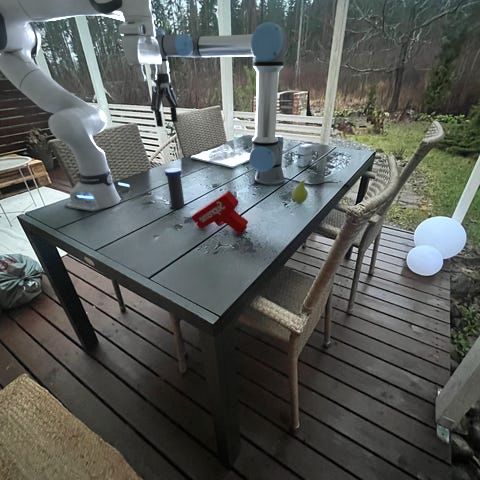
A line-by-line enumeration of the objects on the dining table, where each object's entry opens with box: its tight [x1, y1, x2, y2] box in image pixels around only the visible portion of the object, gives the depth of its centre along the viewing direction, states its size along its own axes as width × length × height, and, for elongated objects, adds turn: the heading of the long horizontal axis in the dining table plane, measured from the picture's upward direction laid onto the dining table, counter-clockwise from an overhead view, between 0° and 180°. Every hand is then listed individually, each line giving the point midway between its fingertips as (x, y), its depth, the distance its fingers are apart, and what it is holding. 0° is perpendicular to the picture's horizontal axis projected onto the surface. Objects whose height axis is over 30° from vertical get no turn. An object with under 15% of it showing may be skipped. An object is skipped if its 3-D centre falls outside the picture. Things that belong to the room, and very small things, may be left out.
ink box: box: [296, 143, 314, 168], centre depth 163 cm, size 8×5×12 cm, turn 135°
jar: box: [166, 174, 185, 210], centre depth 115 cm, size 6×6×16 cm
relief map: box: [190, 143, 250, 169], centre depth 179 cm, size 27×35×5 cm
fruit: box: [291, 174, 311, 204], centre depth 118 cm, size 7×8×12 cm
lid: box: [164, 166, 182, 178], centre depth 111 cm, size 6×6×2 cm
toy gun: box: [190, 190, 249, 236], centre depth 99 cm, size 18×4×15 cm
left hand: (148, 80), depth 93 cm, fingers open, 8 cm apart
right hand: (167, 124), depth 132 cm, fingers open, 13 cm apart
